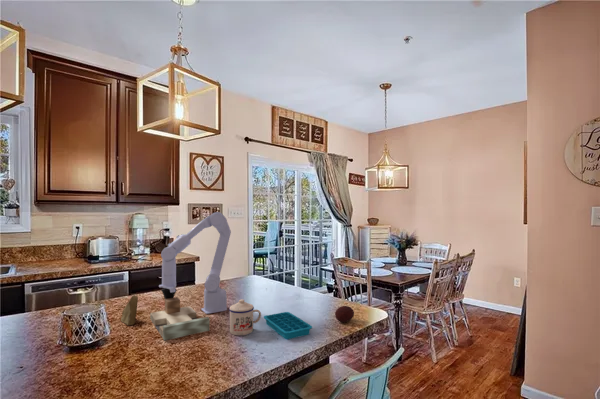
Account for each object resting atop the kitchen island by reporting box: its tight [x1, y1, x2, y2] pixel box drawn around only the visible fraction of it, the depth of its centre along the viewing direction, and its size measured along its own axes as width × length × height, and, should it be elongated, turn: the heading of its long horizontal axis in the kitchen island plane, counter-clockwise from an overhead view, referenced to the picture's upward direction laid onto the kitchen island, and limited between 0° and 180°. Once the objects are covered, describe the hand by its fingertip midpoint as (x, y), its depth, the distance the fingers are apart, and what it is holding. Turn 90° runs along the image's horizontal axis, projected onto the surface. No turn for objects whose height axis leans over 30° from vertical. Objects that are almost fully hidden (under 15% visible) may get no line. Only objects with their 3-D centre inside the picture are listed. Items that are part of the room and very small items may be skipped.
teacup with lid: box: [228, 298, 262, 336], centre depth 121 cm, size 12×9×12 cm
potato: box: [334, 305, 355, 323], centre depth 130 cm, size 8×9×6 cm
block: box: [164, 296, 181, 314], centre depth 135 cm, size 5×5×5 cm
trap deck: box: [149, 305, 210, 341], centre depth 127 cm, size 16×26×4 cm, turn 35°
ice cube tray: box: [263, 311, 313, 340], centre depth 123 cm, size 12×20×3 cm, turn 30°
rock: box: [120, 294, 139, 326], centre depth 130 cm, size 11×9×10 cm
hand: (168, 305), depth 140 cm, fingers closed
